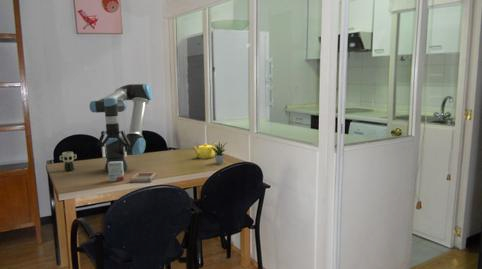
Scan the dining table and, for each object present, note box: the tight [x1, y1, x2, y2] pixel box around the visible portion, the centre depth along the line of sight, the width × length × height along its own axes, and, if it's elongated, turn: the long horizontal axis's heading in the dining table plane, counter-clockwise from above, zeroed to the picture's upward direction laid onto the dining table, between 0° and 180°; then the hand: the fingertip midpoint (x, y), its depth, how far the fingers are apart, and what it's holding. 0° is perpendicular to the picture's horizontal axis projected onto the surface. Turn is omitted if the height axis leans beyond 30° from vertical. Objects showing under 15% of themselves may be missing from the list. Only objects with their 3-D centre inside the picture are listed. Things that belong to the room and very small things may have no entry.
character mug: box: [59, 151, 78, 171], centre depth 270 cm, size 11×7×13 cm, turn 112°
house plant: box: [210, 141, 229, 165], centre depth 280 cm, size 14×14×16 cm
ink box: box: [108, 161, 125, 182], centre depth 240 cm, size 9×5×12 cm, turn 92°
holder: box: [129, 171, 158, 184], centre depth 241 cm, size 13×15×2 cm
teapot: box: [192, 142, 218, 160], centre depth 300 cm, size 22×16×11 cm
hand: (114, 156), depth 238 cm, fingers open, 13 cm apart
